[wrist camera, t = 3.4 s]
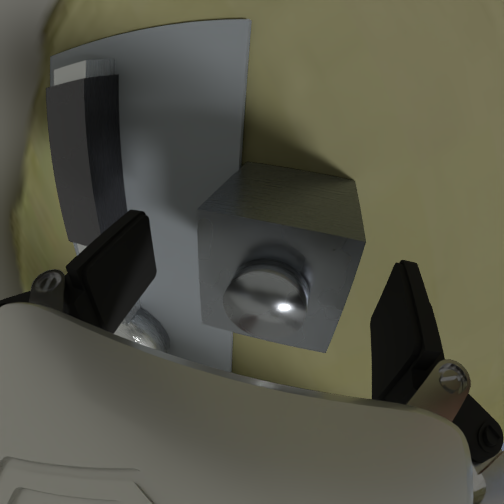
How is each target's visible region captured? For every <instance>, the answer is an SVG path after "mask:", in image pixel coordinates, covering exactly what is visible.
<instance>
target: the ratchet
mask: <svg viewBox="0 0 504 504" xmlns="http://www.w3.org/2000/svg"><path fill="white" fill-rule="evenodd" d="M46 104H47V119H48V131H49V141H50V149H51V156H52V163H53V170H54V176H55V182H56V187H57V192H58V197H59V202H60V207H61V211H62V216H63V220H64V224H65V228H66V232H67V236H68V239H69V241H70V242H74V243H77V246H78V250H79V253H80V252H82V251H83V250H84V249H85V248H86V247H87V246H88V245H89V244H90V243H92V242H93V241H94V240H95V239H96V238H97V237H98V236H99V235H101V234H102V233H103V232H104V231H105V230H106V229H108V228H109V227H110V226H111V225H112V224H113V223H115V222H116V221H117V220H118V219H119V218H121V217H122V216H123V215H124V214H125V213H127V212H128V211H127V204H126V196H125V187H124V178H123V167H122V155H121V141H120V121H119V74H117V75H115V59H97V60H85V61H81V62H78V63H74V64H71V65H68V66H65V67H61V68H58V69H55V70H54V86H52V87H48V88H46ZM141 306H142V303H141V299H140V298H139V300H138V301H137V302H136V304H135V305H134V306H133V308H132V309H131V310H130V312H129V313H128V314H127V316H126V317H125V319H124V320H123V321H122V323H121V324H120V326H119V327H118V328H117V330H116V331H115V333H114V334H115V335H118V336H120V337H123V338H126V339H128V340H131V341H133V342H136V343H139V344H142V345H144V346H147V347H150V348H153V349H156V350H159V351H162V352H164V353H167V352H168V350H169V348H170V339H169V336H168V334H167V332H166V330H165V329H164V327H163V326H162V325H161V323H160V322H159V321H158V320H157V319H156V318H155V317H154V316H153V315H152V314H151V313H149V312H148V311H147V310H145V309H144V308H142V307H141Z"/></svg>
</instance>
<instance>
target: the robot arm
mask: <svg viewBox="0 0 504 504" xmlns="http://www.w3.org/2000/svg"><path fill="white" fill-rule="evenodd" d="M66 269H67V272H68V273H67V274H66V275H64V273H63V272H62V271H60V270H55V269H54V270H48V271H46V272H43V273H42V274H40V275H39V276H38V277H37V278H36V279H35V280H34V281H33V284H32V287H31V291H29V292H25V293H22V294H19V295H16V296H12V297H9V298H6V299H3V300H0V504H504V451H502V450H501V447H502V445H503V432H502V429H501V427H500V425H499V424H498V423H497V422H496V421H495V420H494V419H493V418H492V417H491V416H490V415H489V414H488V413H487V412H486V411H485V410H484V409H483V408H482V407H481V406H480V405H479V404H478V403H477V402H476V401H475V400H474V399H473V398H472V397H471V396H470V395H469V394H468V393H469V390H470V387H471V380H470V377H469V374H468V372H467V370H466V369H465V368H464V367H463V366H462V365H461V364H460V363H458V362H457V361H454V360H451V359H445V358H444V353H443V349H442V344H441V340H440V336H439V332H438V328H437V324H436V320H435V317H434V313H433V309H432V306H431V304H430V303H429V299H428V296H427V293H426V289H425V286H424V283H423V280H422V277H421V274H420V271H419V268H418V265H417V263H415V262H410V261H405V260H401V261H400V263H395V265H394V267H393V269H392V272H391V274H390V277H389V279H388V281H387V284H386V286H385V288H384V291H383V293H382V295H381V297H380V300H379V302H378V304H377V306H376V308H375V310H374V313H373V315H372V317H371V322H370V329H371V352H372V399H365V398H357V397H350V396H344V395H337V394H331V393H325V392H319V391H313V390H308V389H302V388H297V387H292V386H287V385H282V384H277V383H273V382H268V381H264V380H259V379H255V378H251V377H247V376H243V375H239V374H235V373H231V372H227V371H224V370H220V369H216V368H213V367H209V366H206V365H202V364H199V363H196V362H192V361H189V360H186V359H183V358H180V357H177V356H173V355H170V354H167V353H164V352H162V351H159V350H156V349H153V348H150V347H147V346H144V345H142V344H139V343H136V342H133V341H131V340H128V339H126V338H123V337H120V336H118V335H115V334H114V333H115V331H116V330H117V328H118V327H119V326H120V324H121V323H122V321H123V320H124V319H125V317H126V316H127V314H128V313H129V312H130V310H131V309H132V308H133V306H134V305H135V304H136V302H137V301H138V300H139V298H140V297H141V296H142V294H143V293H144V292H145V290H146V289H147V288H148V286H149V285H150V284H151V282H152V281H153V280H154V278H155V276H156V273H157V269H156V263H155V256H154V250H153V243H152V236H151V229H150V221H149V217H148V216H147V215H146V213H145V212H144V211H138V210H129V211H128V212H127V213H125V214H124V215H123V216H122V217H121V218H119V219H118V220H117V221H116V222H115V223H113V224H112V225H111V226H110V227H109V228H108V229H106V230H105V231H104V232H103V233H102V234H101V235H99V236H98V237H97V238H96V239H95V240H94V241H93V242H92V243H90V244H89V245H88V246H87V247H86V248H85V249H84V250H83V251H82V252H80V253H79V254H78V255H77V256H76V257H75V258H74V259H73V260H72V261H71V262H70V263H69V264H68V265H67V266H66Z"/></svg>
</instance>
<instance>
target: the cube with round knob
mask: <svg viewBox="0 0 504 504" xmlns="http://www.w3.org/2000/svg"><path fill="white" fill-rule="evenodd" d="M197 239H198V264H199V284H200V301H201V317H202V324H205V325H208V326H212V327H215V328H219V329H223V330H227V331H230V332H234V333H238V334H242V335H246V336H250V337H254V338H258V339H262V340H267V341H271V342H275V343H280V344H284V345H289V346H293V347H298V348H303V349H308V350H313V351H318V352H323V353H326V351H327V349H328V346H329V344H330V341H331V339H332V336H333V334H334V331H335V329H336V326H337V324H338V321H339V319H340V316H341V313H342V311H343V308H344V305H345V303H346V300H347V297H348V294H349V292H350V289H351V286H352V283H353V280H354V277H355V274H356V271H357V268H358V265H359V262H360V259H361V256H362V253H363V250H364V246H365V243H366V239H365V233H364V227H363V221H362V215H361V209H360V204H359V199H358V194H357V189H356V184H355V181H353V180H349V179H344V178H340V177H335V176H330V175H325V174H320V173H314V172H309V171H303V170H298V169H292V168H286V167H280V166H273V165H267V164H260V163H253V162H246V163H245V164H244V165H243V166H242V167H241V168H240V169H239V170H238V171H236V172H235V173H234V174H233V175H232V176H231V177H230V178H229V179H228V180H227V181H226V182H225V183H224V184H222V185H221V186H220V187H219V188H218V189H217V190H216V191H215V192H214V193H213V194H212V195H211V196H210V197H209V198H208V199H207V200H206V201H205V202H204V203H203V204H202V205H201V206H200V207H199V208H197Z"/></svg>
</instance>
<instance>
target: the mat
mask: <svg viewBox="0 0 504 504" xmlns="http://www.w3.org/2000/svg"><path fill="white" fill-rule="evenodd" d="M250 33H251V20H250V19H231V20H211V21H198V22H188V23H180V24H172V25H165V26H159V27H153V28H148V29H142V30H137V31H133V32H128V33H124V34H120V35H116V36H112V37H108V38H104V39H101V40H97V41H94V42H91V43H87V44H84V45H81V46H78V47H75V48H72V49H69V50H67V51H64V52H61V53H58V54H56V55H53V56H51V57H50V87H52V86H54V70H55V69H58V68H61V67H65V66H68V65H71V64H74V63H78V62H81V61H85V60H97V59H115V75H117V74H119V121H120V141H121V155H122V167H123V178H124V187H125V196H126V204H127V211H129V210H138V211H144V212H145V213H146V215H147V216H148V217H149V221H150V229H151V236H152V243H153V250H154V256H155V263H156V269H157V273H156V276H155V278H154V280H153V281H152V282H151V284H150V285H149V286H148V288H147V289H146V290H145V292H144V293H143V294H142V296H141V297H140V299H141V303H142V306H141V307H142V308H144V309H145V310H147V311H148V312H149V313H151V314H152V315H153V316H154V317H155V318H156V319H157V320H158V321H159V322H160V323H161V325H162V326H163V327H164V329H165V330H166V332H167V334H168V336H169V339H170V348H169V350H168V352H167V354H170V355H173V356H177V357H180V358H183V359H186V360H189V361H192V362H196V363H199V364H202V365H206V366H209V367H213V368H216V369H220V370H224V371H227V372H231V373H232V345H233V332H230V331H227V330H223V329H219V328H215V327H212V326H208V325H205V324H202V317H201V301H200V284H199V264H198V239H197V208H199V207H200V206H201V205H202V204H203V203H204V202H205V201H206V200H207V199H208V198H209V197H210V196H211V195H212V194H213V193H214V192H215V191H216V190H217V189H218V188H219V187H220V186H221V185H222V184H224V183H225V182H226V181H227V180H228V179H229V178H230V177H231V176H232V175H233V174H234V173H235V172H236V171H238V170H239V169H240V168H241V160H242V144H243V128H244V113H245V99H246V85H247V71H248V58H249V46H250ZM73 244H74V247H75V251H76V254H77V255H78V254H79V250H78V246H77V243H74V242H73Z"/></svg>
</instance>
